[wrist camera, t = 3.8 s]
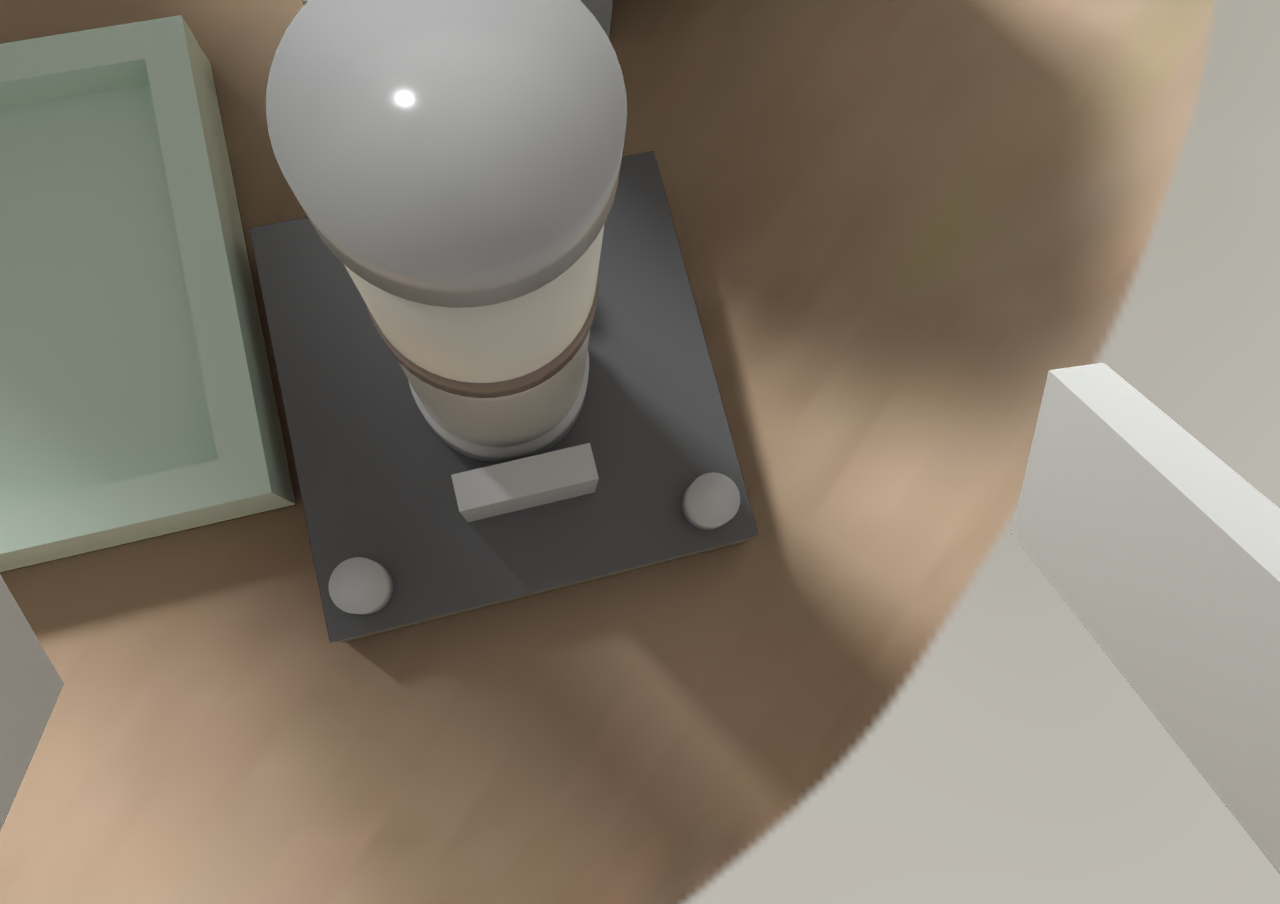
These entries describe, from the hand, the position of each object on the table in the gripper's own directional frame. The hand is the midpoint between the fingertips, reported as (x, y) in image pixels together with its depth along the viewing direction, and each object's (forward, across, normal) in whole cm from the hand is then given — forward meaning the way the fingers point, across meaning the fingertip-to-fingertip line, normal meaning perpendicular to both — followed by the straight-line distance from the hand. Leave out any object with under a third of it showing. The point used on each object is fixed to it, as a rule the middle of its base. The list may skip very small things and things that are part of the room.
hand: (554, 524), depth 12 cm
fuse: (+10, -1, -4) cm, 11 cm away
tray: (+14, -12, -2) cm, 19 cm away
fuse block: (+11, -1, -5) cm, 12 cm away
